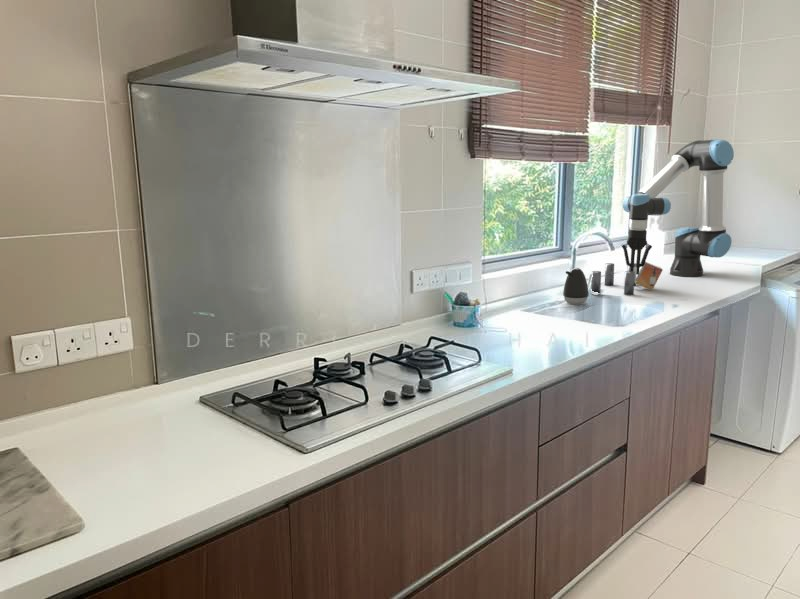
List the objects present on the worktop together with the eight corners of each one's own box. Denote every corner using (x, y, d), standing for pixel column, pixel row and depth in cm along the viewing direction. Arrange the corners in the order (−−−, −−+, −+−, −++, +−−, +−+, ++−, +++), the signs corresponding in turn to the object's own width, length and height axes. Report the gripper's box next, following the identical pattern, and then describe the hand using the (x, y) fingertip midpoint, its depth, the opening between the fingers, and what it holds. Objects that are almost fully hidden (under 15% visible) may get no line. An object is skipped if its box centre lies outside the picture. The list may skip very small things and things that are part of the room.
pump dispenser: (557, 303, 269) (558, 267, 266) (577, 299, 273) (577, 264, 270) (573, 307, 260) (574, 271, 257) (593, 304, 264) (594, 268, 261)
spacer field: (635, 284, 300) (636, 263, 298) (644, 295, 277) (645, 272, 275) (586, 284, 304) (587, 263, 302) (591, 295, 281) (592, 272, 279)
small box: (635, 284, 286) (645, 262, 282) (633, 281, 291) (644, 260, 288) (652, 291, 284) (663, 269, 281) (650, 288, 290) (661, 267, 287)
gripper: (651, 228, 285) (647, 280, 290) (621, 228, 288) (617, 279, 293) (654, 230, 278) (650, 283, 283) (623, 229, 280) (619, 282, 285)
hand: (633, 281), depth 288 cm, fingers closed
